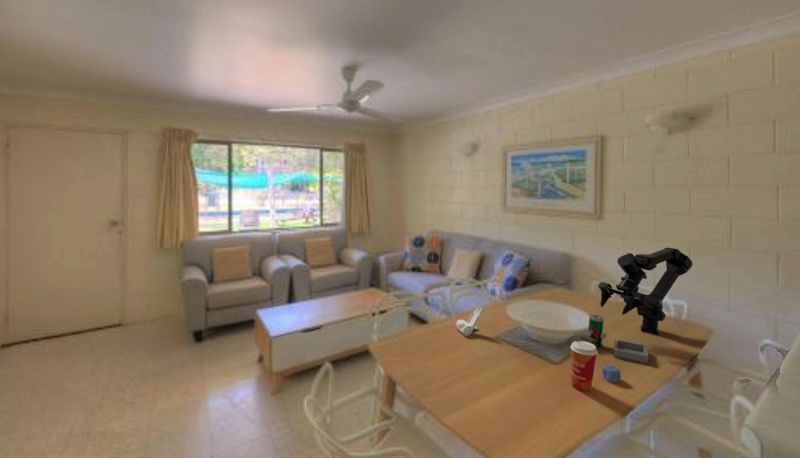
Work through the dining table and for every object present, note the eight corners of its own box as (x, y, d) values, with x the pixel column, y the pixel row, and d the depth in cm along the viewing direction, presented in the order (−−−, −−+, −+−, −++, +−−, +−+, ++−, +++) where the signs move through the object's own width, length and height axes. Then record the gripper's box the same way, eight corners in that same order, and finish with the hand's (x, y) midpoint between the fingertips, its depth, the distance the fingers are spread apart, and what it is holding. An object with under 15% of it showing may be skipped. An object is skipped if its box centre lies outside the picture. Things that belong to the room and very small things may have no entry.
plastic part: (455, 329, 159) (455, 304, 157) (475, 326, 162) (475, 302, 160) (463, 336, 152) (463, 310, 150) (483, 333, 155) (484, 307, 153)
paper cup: (563, 380, 118) (565, 340, 116) (585, 379, 119) (588, 339, 117) (576, 394, 110) (579, 351, 108) (600, 393, 111) (603, 350, 109)
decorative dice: (601, 376, 121) (602, 365, 120) (612, 375, 121) (613, 364, 120) (608, 382, 117) (609, 371, 116) (620, 382, 117) (621, 370, 116)
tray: (614, 345, 142) (614, 338, 142) (645, 352, 137) (646, 344, 137) (613, 356, 134) (614, 349, 133) (647, 364, 128) (648, 356, 128)
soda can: (603, 348, 140) (605, 319, 139) (589, 347, 141) (591, 318, 140) (599, 342, 145) (601, 314, 143) (585, 341, 146) (587, 313, 144)
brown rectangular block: (583, 343, 144) (584, 334, 144) (594, 349, 140) (595, 339, 139) (580, 344, 143) (580, 335, 143) (591, 350, 139) (591, 340, 138)
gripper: (663, 298, 142) (642, 329, 139) (618, 285, 159) (599, 313, 156) (652, 282, 138) (631, 314, 135) (607, 270, 155) (588, 298, 152)
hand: (611, 310), depth 145 cm, fingers open, 9 cm apart
